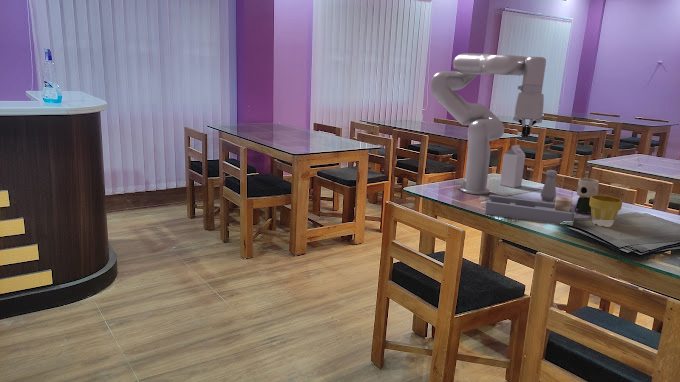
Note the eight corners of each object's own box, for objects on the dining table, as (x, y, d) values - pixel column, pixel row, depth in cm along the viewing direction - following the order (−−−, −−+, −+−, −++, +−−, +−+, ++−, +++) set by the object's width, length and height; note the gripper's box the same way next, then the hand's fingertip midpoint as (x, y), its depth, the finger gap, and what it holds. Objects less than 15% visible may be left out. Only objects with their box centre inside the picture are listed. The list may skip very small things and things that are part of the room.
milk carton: (499, 185, 236) (504, 145, 231) (507, 183, 241) (512, 143, 236) (513, 188, 231) (519, 147, 226) (521, 186, 236) (526, 146, 231)
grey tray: (485, 214, 188) (486, 202, 187) (488, 205, 199) (489, 194, 198) (572, 226, 177) (574, 214, 176) (570, 216, 189) (572, 205, 188)
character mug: (566, 208, 201) (571, 176, 197) (582, 208, 202) (587, 176, 199) (584, 216, 190) (590, 183, 187) (601, 216, 192) (607, 183, 188)
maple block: (554, 212, 182) (556, 199, 181) (554, 209, 187) (556, 196, 185) (569, 215, 180) (571, 201, 179) (569, 211, 185) (571, 198, 184)
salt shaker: (556, 203, 208) (560, 172, 205) (541, 201, 209) (546, 171, 206) (553, 199, 214) (557, 169, 210) (539, 198, 215) (543, 168, 212)
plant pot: (579, 220, 185) (583, 194, 182) (601, 219, 188) (606, 193, 186) (601, 229, 175) (606, 202, 173) (624, 228, 179) (629, 201, 176)
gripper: (511, 88, 194) (505, 136, 199) (552, 91, 189) (545, 139, 194) (512, 88, 201) (506, 133, 206) (552, 90, 196) (545, 137, 201)
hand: (525, 136), depth 200 cm, fingers closed
